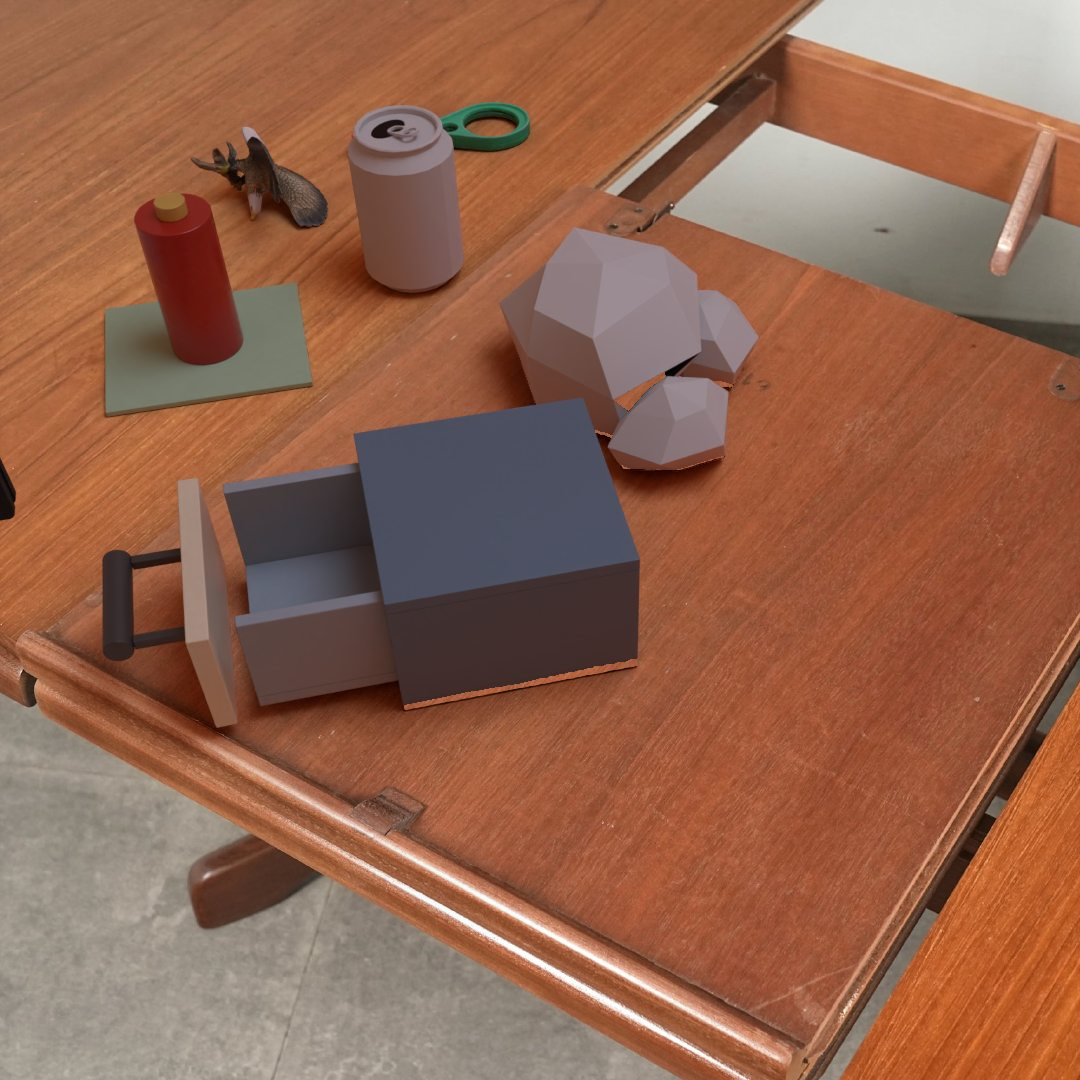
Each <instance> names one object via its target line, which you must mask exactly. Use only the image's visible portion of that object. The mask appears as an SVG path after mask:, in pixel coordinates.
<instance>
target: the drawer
mask: <svg viewBox="0 0 1080 1080" xmlns="http://www.w3.org/2000/svg"><path fill="white" fill-rule="evenodd" d="M222 489H223V495H224V496H223V497H224V500H225V503H226V506H227V510H228V513H229V516H230V520H231V523H232V527H233V529H234V533H235V537H236V540H237V543H238V546H239V550H240V554H241V557H242V561H243V564H244V570H245V578H246V590H247V601H248V611H249V613H246V614H245V613H244V614H240V615H235V616H234V618H233V619H234V628H235V631H236V634H237V637H238V640H239V644H240V647H241V650H242V653H243V656H244V659H245V663H246V666H247V670H248V672H249V676H250V679H251V681H252V685H253V688H254V690H255V694H256V696H257V700H258V704H259V706H260V707H263V706H264V707H265V706H269V705H273V704H279V703H284V702H285V703H286V702H290V701H295V700H301V699H307V698H312V697H318V696H322V695H327V694H333V693H338V692H343V691H348V690H354V689H361V688H365V687H371V686H376V685H381V684H387V683H393V682H397V681H398V676H397V671H396V665H395V660H394V655H393V649H392V644H391V639H390V633H389V628H388V623H387V618H386V612H385V607H384V602H383V596H382V590H381V585H380V579H379V574H378V568H377V563H376V557H375V552H374V546H373V540H372V535H371V529H370V524H369V518H368V513H367V507H366V502H365V496H364V491H363V485H362V479H361V474H360V468H359V463H358V462H353V463H347V464H341V465H340V464H339V465H334V466H329V467H321V468H315V469H310V470H309V469H308V470H304V471H303V470H302V471H297V472H291V473H284V474H278V475H272V476H266V477H260V478H259V477H258V478H254V479H253V478H252V479H248V480H241V481H235V482H229V483H223V484H222ZM176 491H177V492H176V493H177V511H178V530H179V547H177V548H171V549H165V550H159V551H153V552H147V553H141V554H136V555H131V554H130V553H129V552H127V551H126V550H122V549H112V550H110V551H107V552H106V553H104V555H103V557H102V560H101V561H102V562H101V563H102V564H101V565H102V567H101V569H102V571H101V573H102V574H101V575H102V577H101V578H102V579H101V582H102V583H101V585H102V586H101V588H102V590H101V591H102V592H101V593H102V599H101V600H102V601H101V602H102V607H101V608H102V609H101V611H102V612H101V613H102V614H101V615H102V618H101V619H102V621H101V622H102V624H101V625H102V627H101V628H102V629H101V630H102V634H101V635H102V642H101V643H102V644H101V646H102V647H101V648H102V649H101V651H102V655H103V657H105V658H106V659H107V660H109V661H112V662H123V661H127V660H129V659H130V658H132V657H133V656H134V654H135V650H141V649H148V648H151V647H158V646H163V645H169V644H174V643H180V642H184V643H185V646H186V648H187V651H188V655H189V657H190V659H191V662H192V665H193V668H194V670H195V674H196V676H197V678H198V682H199V684H200V687H201V690H202V692H203V696H204V698H205V700H206V703H207V706H208V709H209V711H210V714H211V716H212V720H213V723H214V726H215V727H216V728H222V727H227V726H233V725H237V724H238V723H239V718H238V706H237V705H238V704H237V695H236V694H237V693H236V682H235V668H234V657H233V656H234V655H233V645H232V634H231V622H230V621H231V620H230V607H229V606H230V605H229V594H228V583H227V570H226V563H225V560H224V557H223V553H222V550H221V547H220V544H219V541H218V537H217V534H216V530H215V528H214V525H213V521H212V518H211V514H210V511H209V509H208V505H207V501H206V499H205V496H204V492H203V489H202V485H201V483H200V479H199V478H198V477H193V478H187V479H180V480H179V479H178V480H177V481H176ZM177 563H178V564H179V563H180V565H181V566H180V568H181V584H182V585H181V586H182V587H181V588H182V605H183V622H184V623H183V624H184V625H182V626H177V627H170V628H166V629H159V630H154V631H149V632H143V633H137V634H136V633H135V623H134V622H135V619H134V618H135V616H134V615H135V613H134V612H135V610H134V571H135V570H142V569H148V568H154V567H160V566H166V565H171V564H177ZM398 682H399V681H398Z"/></svg>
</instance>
